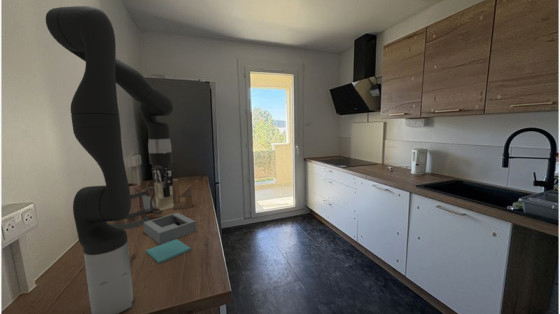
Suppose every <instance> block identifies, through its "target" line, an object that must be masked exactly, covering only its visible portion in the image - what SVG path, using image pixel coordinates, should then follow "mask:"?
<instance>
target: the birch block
mask: <svg viewBox="0 0 560 314" xmlns="http://www.w3.org/2000/svg"><path fill="white" fill-rule="evenodd" d="M164 183H165V181H164ZM153 184H154V188H155V195H154V197H155V205H156V206H155V208H156V209H157V208H158V210H159V209H160V211H161V210H163V211H164V210H169V209H173V207H174V206H173V191H172V186H170V197H166V198H165V197H163V186H162V182H160V181H159V182H154V181H153Z"/></svg>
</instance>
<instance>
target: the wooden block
mask: <svg viewBox="0 0 560 314" xmlns="http://www.w3.org/2000/svg"><path fill="white" fill-rule="evenodd" d="M172 193H173V206H174V207H173V208H172V209H173V210H175V211H176V210H182V209H191V208H193V194H192V184H191V183H190V184H189V185H188V186H187V187H186V188H185V189H184V190H183V191H182V192H181V194H180V186H179V178H177V179H176V178H173V185H172ZM180 198H185V201H180Z"/></svg>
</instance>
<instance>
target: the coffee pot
mask: <svg viewBox="0 0 560 314" xmlns="http://www.w3.org/2000/svg"><path fill="white" fill-rule="evenodd" d="M148 187H149V181H146V183H145V188H143V189H141V191H142V192H144V191H145V190H146V189H147V188H148ZM148 191H149V192H150V191H151V189H149V190H148ZM151 197H152V196H151V195H150V196H147V195H146V194H145V193H143V194H142V199H143V206H144V209H145V214H148V213H151V212H152V210H151V207H150V199H151ZM152 207H153V209H154V210H155V208H156V202H154V200H153V199H152Z"/></svg>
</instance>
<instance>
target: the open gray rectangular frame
mask: <svg viewBox="0 0 560 314" xmlns="http://www.w3.org/2000/svg"><path fill="white" fill-rule="evenodd" d="M143 223H144V225H143V230H144V231H143V232H144V234H145V235H147V236H148V237H150V238H151V239H152V240H154V242H155V243H157V244H158V245H162V244H165V243H167V242H170V241H173V240H175V239H177V240H178V239H179V238H182V237H185V236H187V235H190V234H192V233H195V232H197V226H196V220H193V219H191V218H190V217H187V216H185V215H184V214H181V213H180V212H175V213H171V214H167V215H164V216H160V217H157V218H153V219H150V221H146V222H143ZM178 224H179V225H178Z"/></svg>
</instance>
